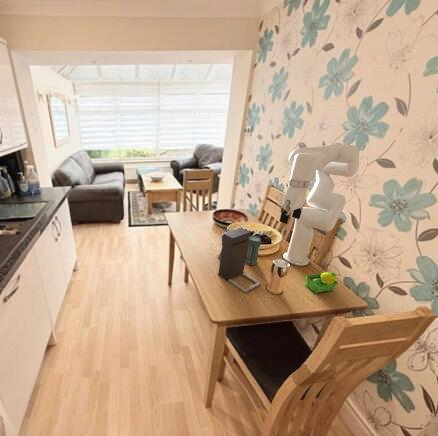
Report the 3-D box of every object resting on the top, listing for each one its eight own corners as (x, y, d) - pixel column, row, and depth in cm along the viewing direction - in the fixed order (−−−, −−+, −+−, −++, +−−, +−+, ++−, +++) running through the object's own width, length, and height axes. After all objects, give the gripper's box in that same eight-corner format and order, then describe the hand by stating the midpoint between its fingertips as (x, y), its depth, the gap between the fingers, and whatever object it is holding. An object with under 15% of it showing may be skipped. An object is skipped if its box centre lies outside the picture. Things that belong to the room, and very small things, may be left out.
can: (258, 263, 132) (263, 240, 126) (249, 265, 130) (254, 242, 124) (250, 258, 137) (255, 235, 131) (241, 260, 135) (246, 236, 129)
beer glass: (284, 295, 109) (292, 268, 103) (268, 293, 110) (275, 266, 104) (279, 285, 115) (287, 259, 109) (264, 284, 116) (270, 258, 110)
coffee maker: (233, 267, 129) (240, 227, 120) (261, 284, 116) (271, 241, 107) (217, 274, 123) (223, 233, 114) (244, 293, 110) (253, 248, 101)
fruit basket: (321, 281, 118) (328, 262, 113) (338, 293, 110) (346, 273, 105) (302, 284, 116) (308, 265, 111) (317, 297, 108) (325, 277, 103)
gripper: (301, 178, 107) (292, 213, 114) (278, 184, 99) (270, 221, 106) (319, 182, 101) (308, 219, 108) (296, 188, 93) (286, 227, 100)
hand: (289, 220), depth 107 cm, fingers open, 9 cm apart
